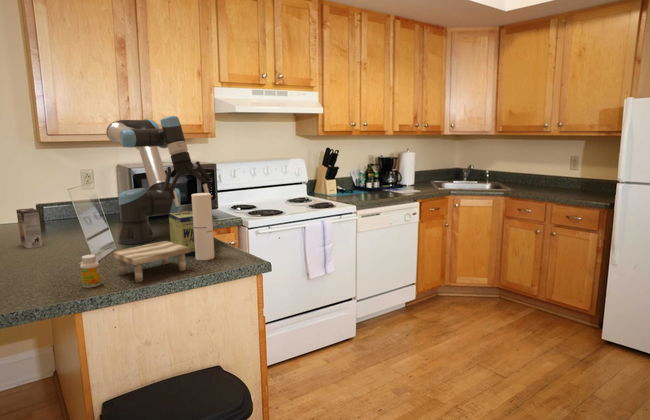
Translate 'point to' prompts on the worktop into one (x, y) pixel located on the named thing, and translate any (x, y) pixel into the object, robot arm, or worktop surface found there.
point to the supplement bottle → (90, 271)
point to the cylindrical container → (203, 226)
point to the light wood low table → (150, 256)
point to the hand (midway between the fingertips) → (193, 202)
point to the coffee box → (29, 227)
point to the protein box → (182, 230)
